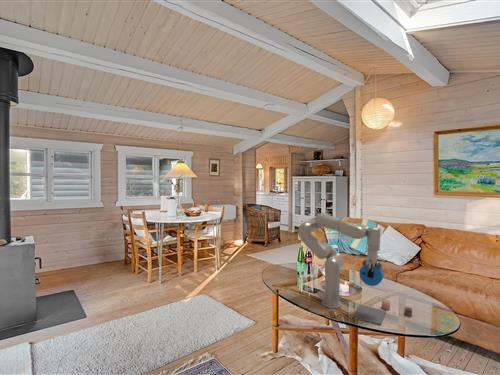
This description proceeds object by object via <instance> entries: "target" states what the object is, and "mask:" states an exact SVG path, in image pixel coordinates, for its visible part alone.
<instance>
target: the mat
mask: <svg viewBox="0 0 500 375" xmlns="http://www.w3.org/2000/svg"><path fill="white" fill-rule="evenodd" d="M386 313H387V310H385V309H381V308H380V309H379V308H375V307H373V306H368V305H364V304H359V305H358V307H357V308H356V310H355V311H354V313H353V315H352V317H353V318H352V319H355V318H357V319H356V320H359V319H361V320H360V321H362V320H364V321H363V322H366V321H367V323H370V322H371V323H370V324H373V323H374V325H377V326H382V323H383V321H384V318H385V316H386Z"/></svg>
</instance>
